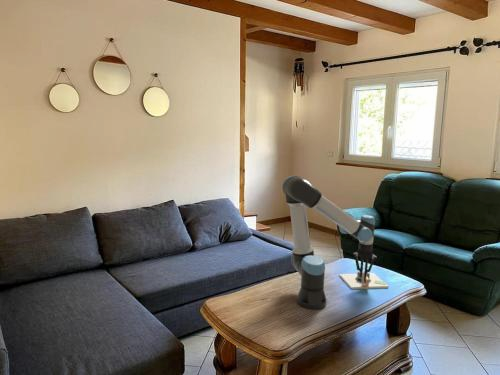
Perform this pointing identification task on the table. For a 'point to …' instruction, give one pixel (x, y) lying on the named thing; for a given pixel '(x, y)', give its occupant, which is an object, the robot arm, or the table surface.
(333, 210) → the robot arm
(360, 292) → the table surface
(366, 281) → the peg dial
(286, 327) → the table surface
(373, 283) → the board
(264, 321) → the table surface
